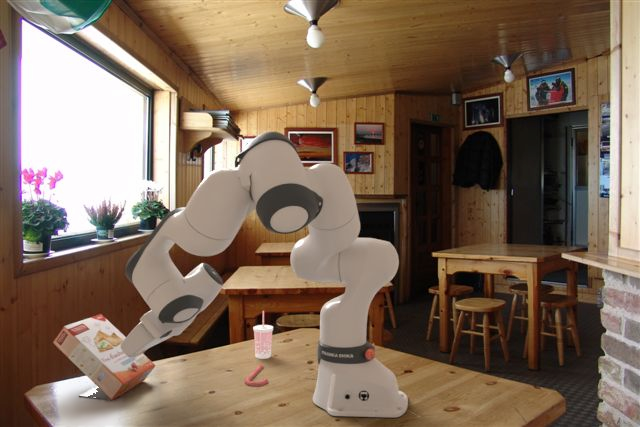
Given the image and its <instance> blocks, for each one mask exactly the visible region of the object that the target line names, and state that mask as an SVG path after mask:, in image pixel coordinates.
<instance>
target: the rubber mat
mask: <svg viewBox="0 0 640 427" xmlns="http://www.w3.org/2000/svg"><path fill="white" fill-rule="evenodd" d="M96 390H97V391H98V392H96V394H95V393H93V395H90V396H88V397H96V398H100V399H99V400H104V399H106V401H112V400H111V399H110V398H109V397H108V396H107V395H106V394H105V393H104V392H103V391H102V390H101V389H100V388H97V389H96Z"/></svg>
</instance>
